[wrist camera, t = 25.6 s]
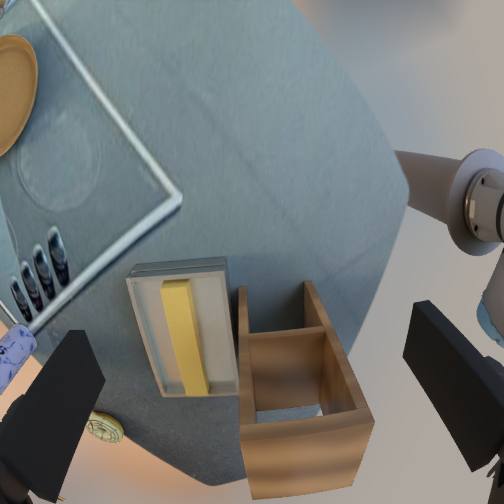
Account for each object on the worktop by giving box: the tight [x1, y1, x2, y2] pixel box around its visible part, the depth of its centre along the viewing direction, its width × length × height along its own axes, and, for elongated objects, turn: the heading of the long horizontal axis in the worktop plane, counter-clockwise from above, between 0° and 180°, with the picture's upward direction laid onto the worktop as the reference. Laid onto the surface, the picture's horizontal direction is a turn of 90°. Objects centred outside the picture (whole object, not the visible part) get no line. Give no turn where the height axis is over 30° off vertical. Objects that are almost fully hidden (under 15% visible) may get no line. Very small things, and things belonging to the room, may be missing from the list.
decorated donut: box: [85, 412, 124, 443], centre depth 61 cm, size 10×11×4 cm
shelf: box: [239, 281, 375, 500], centre depth 39 cm, size 14×12×30 cm
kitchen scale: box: [126, 257, 239, 397], centre depth 51 cm, size 26×15×6 cm, turn 5°
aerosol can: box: [0, 324, 37, 395], centre depth 45 cm, size 8×8×20 cm
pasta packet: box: [160, 279, 209, 396], centre depth 49 cm, size 22×4×3 cm, turn 4°
